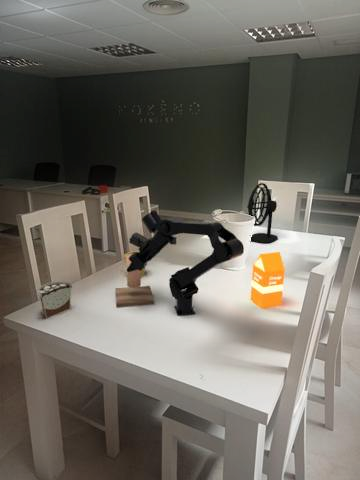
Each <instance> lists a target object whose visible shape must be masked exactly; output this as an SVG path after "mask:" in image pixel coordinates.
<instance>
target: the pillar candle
mask: <svg viewBox="0 0 360 480" xmlns="http://www.w3.org/2000/svg"><path fill="white" fill-rule="evenodd" d="M132 254H133V253H131V254H127V255H126V263H125V264H126V269H127V268H128V267H129V265H130V264H131V261H130V260H129V257H130V256H131V255H132ZM141 278H142V276H141V271H140V270H134V271H131V272H128V271H127V270H126V285H127V287H131V288H136V287H141V284H142V282H141V280H142V279H141Z"/></svg>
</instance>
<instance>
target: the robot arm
mask: <svg viewBox="0 0 360 480" xmlns="http://www.w3.org/2000/svg"><path fill="white" fill-rule="evenodd" d="M141 222H142V223H143V225H144V227H146V229H147V231H148V232H149V234H154V235H153V236H152V237H150V238H148V237H146V236H144V235H142V234H141V233H139V232H134V233H132V234H131V237H129V241H128V242H129V243H128V244H131V245H133V246H135V247H137V248H138V250H137V251H139V252H135V253H133V254H132V255H131V256H130V257H129V260H130V261H131V264H130V265H129V267H128V268H127V267H126V272H127V271H128V272H131V271H134V270H140V271H141V270H142V269H143V268H144V267H145V266H146V267H147V266H148V262H150V261H151V260H153V258H155V257H157V255H158V254H160V252H162V250H163V249H164V248H166V247H167V246H168V245H169V244H170V245H177V236H174V235H180V234H187V235H188V234H189V235H190V234H191V235H201V236H202V235H203V236H207V237H208V239H209V242H210V245H211V248H212V249H213V250H212V253H211V254H210V255H209V256H207V257H205V258H203V259H202V260H201V261H200V262H198V263H196V265H194V266H192V267H191V268H190V267H189V266H187V267H184V268H182V269H179V270H177V271H176V272H174V273H173V274H171V275H170V278H169V280H168V281H169V282H168V283H169V284H168V285H169V289H170V293H171V297H173V298H174V300H176V305H174V307H173V308H174V310H175V313H176V315H177V316H185V315H186V316H187V315H195V314H196V311H195V309H194V307H193V304H194V303H193V298H194V295H197V294H198V292H199V287H198V285H197V283H196V281H197V279H199V278H200V277H201V276H203V275H205V274H207V273H208V272H210V271H211V270H212V269H214V268H216V267H218V266H219V265H220V264H223V263H225V262H228V261H230V260H233V259H235V258H238V257H240V256H242V255H243V254H244V250H245V247H244V243H243V242H242V241H241V240H239V239H238V238H237V236H236V235H235V234H234V233H233V232H231V231H229V230H228V229H226V227H224V225H223V224H222V223H221V222H219V221H215V222H209V221H193V220H192V221H190V220H186V219H185V218H183V217H178V216H175V217H169V218H164V219H162V218H161V217H160V216H159V213H158V212H157V211H156V210H151V211H150V212H149V213H147V214H145V215H144V216H143V217H142V219H141ZM220 239H222V240H224V241H223V242H222V241H221V240H220ZM146 267H145V268H146Z"/></svg>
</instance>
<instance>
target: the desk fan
mask: <svg viewBox="0 0 360 480" xmlns="http://www.w3.org/2000/svg"><path fill="white" fill-rule="evenodd" d="M258 189H259V190H258ZM257 190H258V192H257ZM264 190H265V191H266V193H265V191H264ZM270 191H271V190H269V188H268V185H267V184H266V183H263V182H260V183H258V184H257V185H256V186H255V188H254V189H253V190H252V191H251V194H250V197H249V199H248V203H247V207H246V208H247V213H248V216H249V215H251V216H253V217H254V220H255V224H254V225H253V226H254V227H255V226H256V227H259V226H261V225H263V224H264V223H265V222H266V219H267V227H266V233H265V232H256V233H252V234H251V235H252V237H251V242H256V243H260V244H270V243H272V242H275V241H276V240H278V238H279V237H278V235H276V234H271V232H272V221H273V213H275V211H277V206H278V205H277V201H276V200H273V199H272V195H271V192H270ZM261 193H262V199H261V201H260V195H261ZM255 194H256V197H255ZM254 198H255V200H254ZM264 209H265V211H264ZM258 210H260V214H259V215H258V216H257V212H258ZM253 211H254V212H253ZM263 213H264V215H263ZM260 219H261V220H260Z"/></svg>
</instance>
